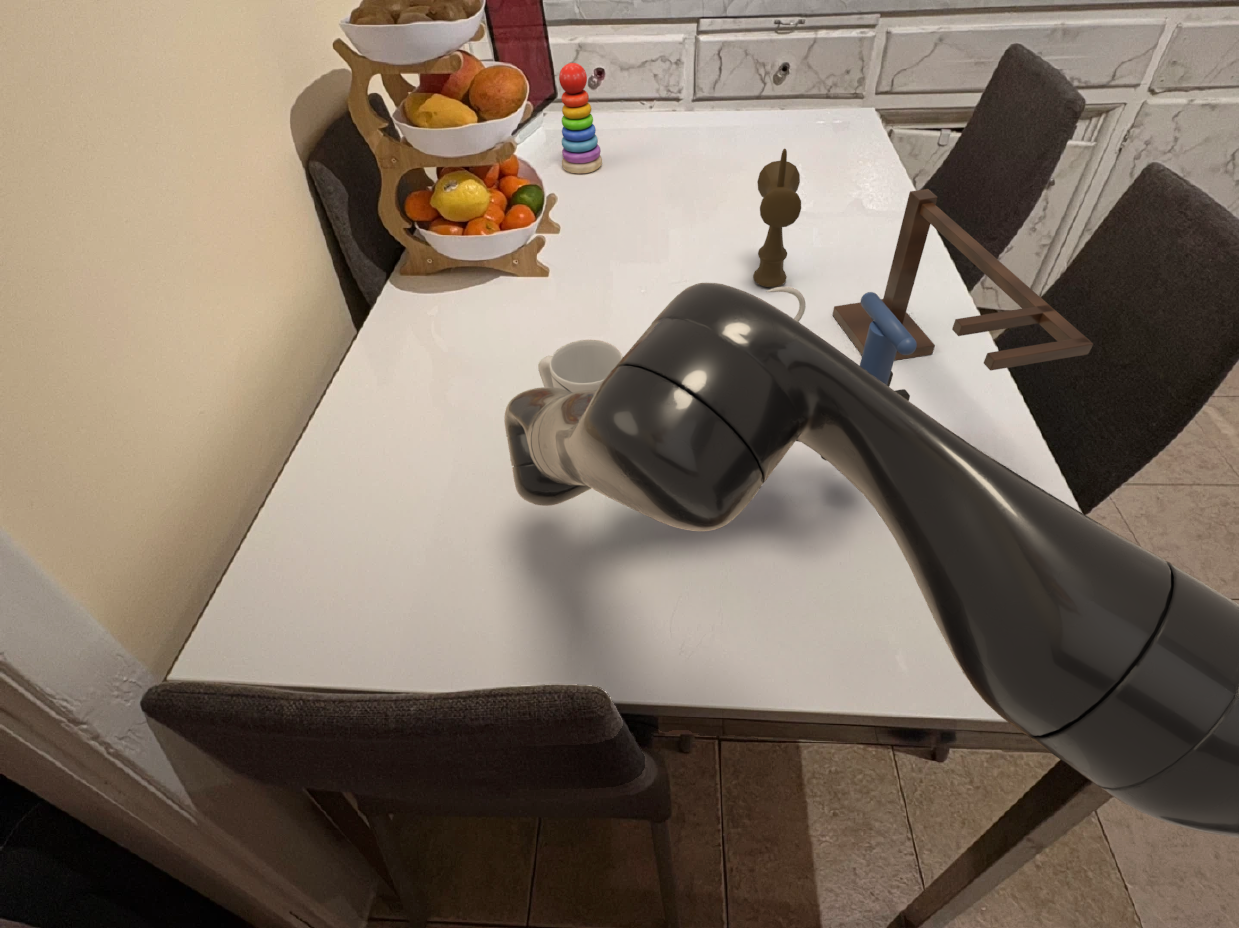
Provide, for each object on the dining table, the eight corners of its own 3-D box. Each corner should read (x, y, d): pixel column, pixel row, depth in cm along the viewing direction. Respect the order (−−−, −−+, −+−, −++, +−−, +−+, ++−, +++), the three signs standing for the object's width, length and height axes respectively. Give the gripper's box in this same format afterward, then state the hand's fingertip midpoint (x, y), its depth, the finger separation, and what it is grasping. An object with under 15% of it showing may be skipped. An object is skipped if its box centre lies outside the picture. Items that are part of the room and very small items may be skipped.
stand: (1043, 484, 79) (1125, 333, 65) (936, 504, 78) (996, 354, 64) (891, 305, 104) (926, 169, 90) (808, 318, 103) (831, 182, 89)
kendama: (788, 265, 113) (805, 134, 99) (790, 298, 107) (810, 163, 93) (749, 264, 114) (761, 134, 100) (749, 297, 107) (762, 163, 93)
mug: (525, 425, 90) (513, 360, 82) (566, 388, 94) (558, 323, 87) (600, 459, 85) (595, 393, 78) (640, 418, 89) (637, 352, 82)
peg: (849, 490, 71) (888, 347, 59) (815, 433, 77) (844, 292, 65) (890, 483, 72) (938, 339, 60) (854, 426, 78) (890, 285, 66)
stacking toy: (573, 156, 147) (563, 54, 134) (608, 161, 144) (603, 57, 131) (555, 172, 142) (544, 67, 129) (592, 177, 139) (584, 71, 126)
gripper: (751, 437, 59) (946, 404, 61) (704, 340, 69) (873, 314, 71) (744, 498, 65) (923, 466, 67) (701, 400, 75) (858, 375, 76)
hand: (896, 388), depth 69 cm, fingers closed on peg, 3 cm apart
